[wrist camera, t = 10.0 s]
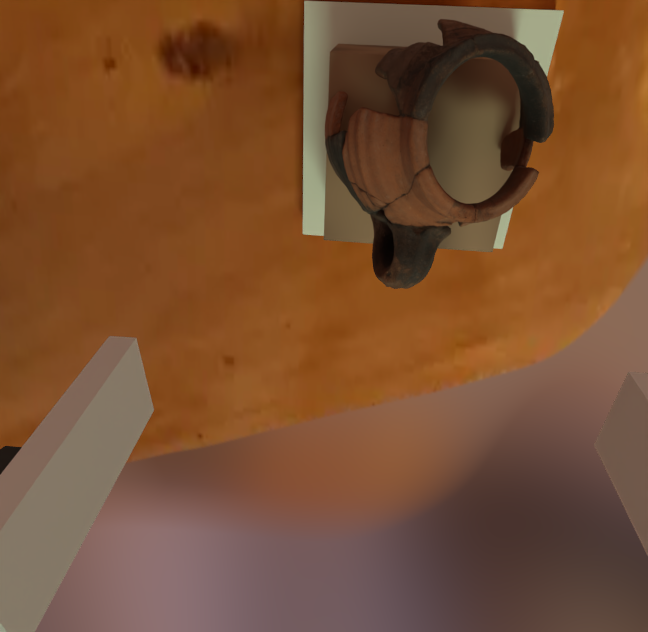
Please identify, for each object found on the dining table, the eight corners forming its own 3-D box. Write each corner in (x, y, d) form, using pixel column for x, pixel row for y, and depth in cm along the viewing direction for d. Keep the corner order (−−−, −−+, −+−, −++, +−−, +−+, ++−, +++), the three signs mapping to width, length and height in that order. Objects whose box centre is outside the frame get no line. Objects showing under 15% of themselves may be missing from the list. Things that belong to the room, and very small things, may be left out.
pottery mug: (315, 29, 24) (402, -16, 16) (472, 57, 27) (600, 30, 20) (301, 269, 28) (366, 317, 20) (440, 266, 31) (536, 306, 24)
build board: (305, 225, 36) (302, 234, 35) (307, 0, 28) (304, 0, 27) (498, 239, 35) (502, 248, 34) (555, 9, 27) (563, 10, 26)
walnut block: (331, 209, 33) (323, 239, 29) (338, 43, 28) (329, 52, 24) (478, 219, 33) (492, 252, 28) (516, 51, 27) (539, 61, 23)
